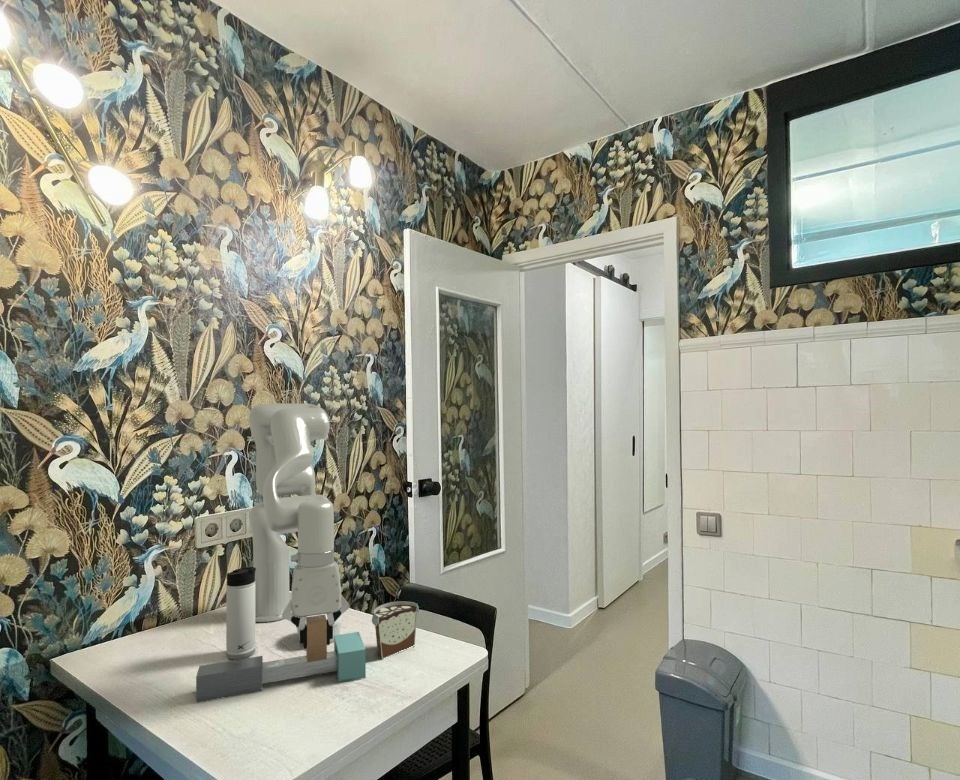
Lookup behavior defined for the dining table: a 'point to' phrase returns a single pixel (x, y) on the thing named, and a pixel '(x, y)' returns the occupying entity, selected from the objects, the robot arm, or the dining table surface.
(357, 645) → the socket block
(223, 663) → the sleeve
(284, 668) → the multicoloured piece
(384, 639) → the food container
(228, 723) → the dining table surface
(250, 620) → the travel mug
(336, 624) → the ramekin
